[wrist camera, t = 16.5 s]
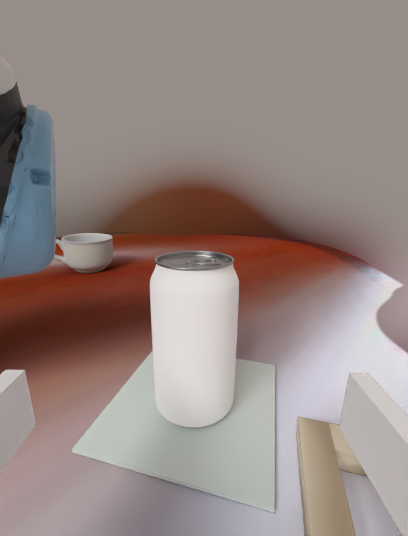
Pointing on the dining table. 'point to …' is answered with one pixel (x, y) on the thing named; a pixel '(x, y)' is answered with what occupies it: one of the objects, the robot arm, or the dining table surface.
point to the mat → (194, 438)
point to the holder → (324, 477)
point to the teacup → (86, 251)
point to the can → (194, 336)
